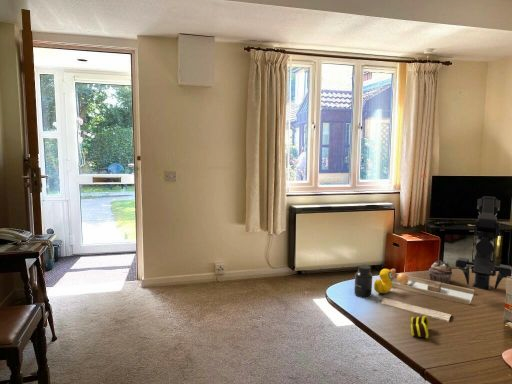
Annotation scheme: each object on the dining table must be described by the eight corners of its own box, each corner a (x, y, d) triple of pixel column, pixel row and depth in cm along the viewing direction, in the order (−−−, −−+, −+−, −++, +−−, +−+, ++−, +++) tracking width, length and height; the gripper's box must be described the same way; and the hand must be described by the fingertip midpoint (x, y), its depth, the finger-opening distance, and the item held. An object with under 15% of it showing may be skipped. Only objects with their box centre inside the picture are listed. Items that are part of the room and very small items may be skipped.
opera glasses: (413, 327, 125) (410, 313, 125) (430, 327, 123) (427, 313, 123) (411, 340, 117) (408, 325, 116) (429, 341, 114) (426, 325, 114)
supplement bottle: (353, 296, 149) (354, 268, 147) (355, 290, 155) (356, 263, 154) (370, 299, 146) (372, 270, 145) (372, 293, 153) (373, 265, 151)
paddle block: (431, 280, 159) (441, 282, 156) (430, 287, 159) (440, 289, 157) (427, 285, 152) (438, 288, 150) (427, 292, 153) (437, 295, 150)
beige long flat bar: (381, 306, 141) (381, 301, 141) (386, 300, 147) (387, 295, 147) (448, 323, 127) (448, 319, 127) (452, 316, 133) (452, 312, 133)
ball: (407, 285, 163) (397, 278, 166) (412, 275, 161) (402, 269, 164) (403, 288, 159) (393, 281, 162) (408, 278, 158) (397, 272, 161)
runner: (395, 278, 171) (395, 277, 171) (473, 295, 152) (473, 294, 152) (386, 285, 161) (387, 284, 161) (469, 304, 142) (469, 303, 142)
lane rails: (392, 276, 173) (392, 268, 172) (473, 294, 152) (474, 285, 152) (382, 285, 162) (382, 276, 161) (469, 305, 141) (470, 295, 141)
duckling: (386, 287, 159) (387, 265, 158) (397, 291, 155) (398, 268, 153) (370, 293, 152) (371, 270, 151) (381, 297, 148) (382, 273, 147)
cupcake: (452, 280, 168) (453, 259, 167) (450, 287, 160) (452, 265, 159) (429, 276, 173) (430, 256, 172) (426, 282, 165) (428, 261, 164)
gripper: (454, 249, 143) (451, 287, 145) (512, 258, 131) (508, 299, 133) (459, 243, 152) (456, 279, 153) (513, 251, 140) (510, 290, 142)
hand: (481, 287), depth 145 cm, fingers open, 9 cm apart
